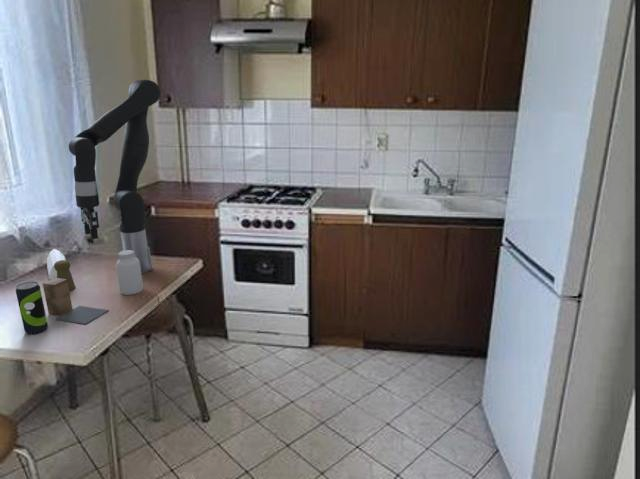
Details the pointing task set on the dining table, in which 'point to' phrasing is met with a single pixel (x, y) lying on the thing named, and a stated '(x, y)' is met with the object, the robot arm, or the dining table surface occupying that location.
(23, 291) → the beverage can
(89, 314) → the rubber mat
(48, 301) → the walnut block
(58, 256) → the crystal
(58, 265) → the cork
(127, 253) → the pill bottle
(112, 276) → the dining table surface
